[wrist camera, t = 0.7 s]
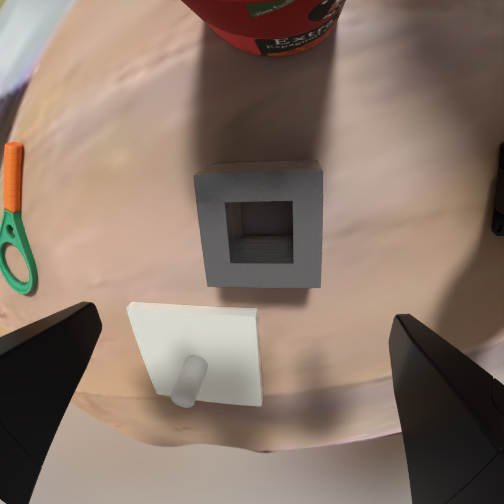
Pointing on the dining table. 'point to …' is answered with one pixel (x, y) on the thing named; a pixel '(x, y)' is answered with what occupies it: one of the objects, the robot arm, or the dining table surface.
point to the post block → (200, 352)
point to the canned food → (269, 23)
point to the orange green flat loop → (15, 220)
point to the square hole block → (260, 246)
